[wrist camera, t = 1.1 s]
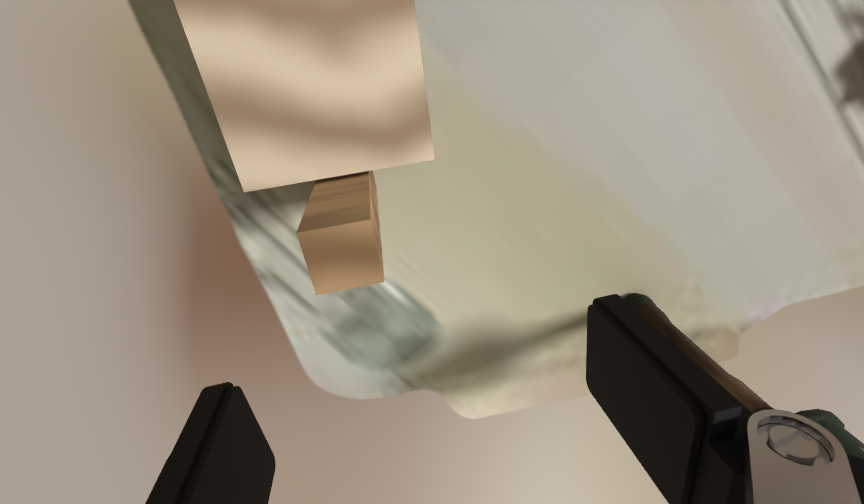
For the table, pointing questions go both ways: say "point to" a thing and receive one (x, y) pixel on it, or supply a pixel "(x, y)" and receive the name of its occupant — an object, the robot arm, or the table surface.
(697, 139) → the table surface
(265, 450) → the robot arm
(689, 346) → the stick grenade
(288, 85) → the lid
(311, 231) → the brown wooden bar
